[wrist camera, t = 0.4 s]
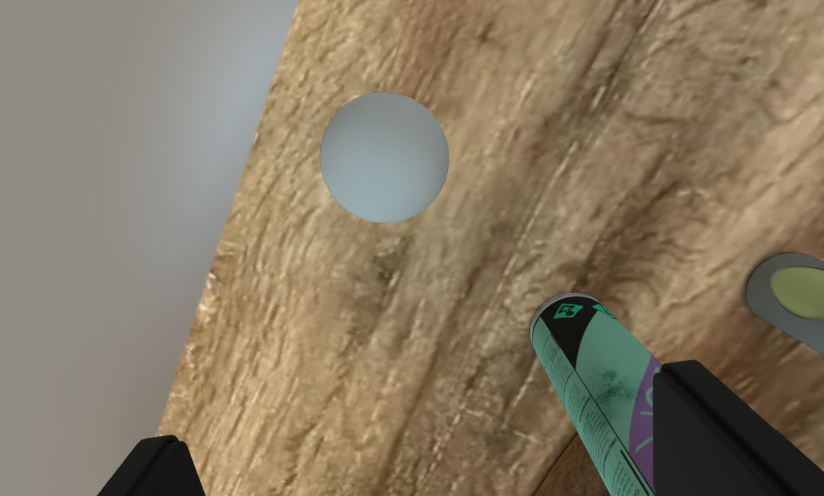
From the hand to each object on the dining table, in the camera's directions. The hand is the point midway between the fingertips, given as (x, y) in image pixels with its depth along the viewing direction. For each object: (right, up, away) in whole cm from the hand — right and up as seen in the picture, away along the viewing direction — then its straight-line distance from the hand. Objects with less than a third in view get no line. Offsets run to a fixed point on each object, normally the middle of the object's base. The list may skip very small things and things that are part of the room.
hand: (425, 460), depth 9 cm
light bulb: (-2, +10, +19) cm, 22 cm away
